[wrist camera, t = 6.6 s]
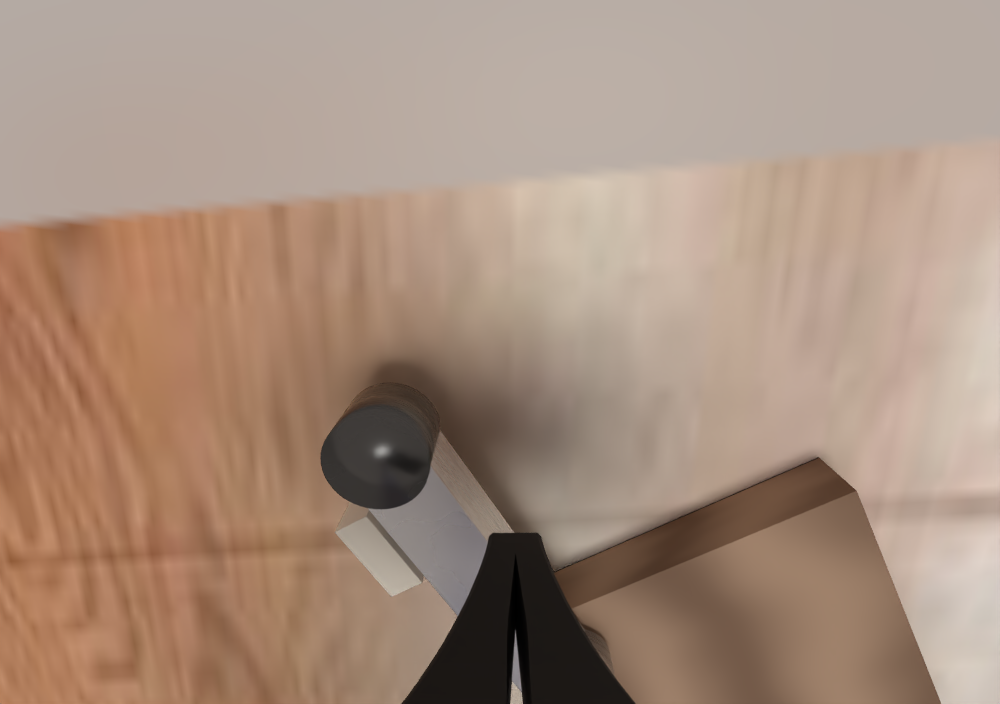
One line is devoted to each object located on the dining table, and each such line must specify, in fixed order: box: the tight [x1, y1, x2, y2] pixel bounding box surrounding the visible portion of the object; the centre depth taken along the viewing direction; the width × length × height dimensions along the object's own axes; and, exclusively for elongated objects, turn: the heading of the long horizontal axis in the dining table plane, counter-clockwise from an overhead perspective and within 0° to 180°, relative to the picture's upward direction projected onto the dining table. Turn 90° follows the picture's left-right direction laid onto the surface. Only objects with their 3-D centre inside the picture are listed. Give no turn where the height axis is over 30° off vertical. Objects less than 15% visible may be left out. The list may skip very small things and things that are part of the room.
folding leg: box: [321, 383, 615, 692], centre depth 15 cm, size 15×3×2 cm, turn 31°
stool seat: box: [554, 458, 941, 704], centre depth 20 cm, size 14×16×2 cm
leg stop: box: [335, 502, 424, 597], centre depth 16 cm, size 1×3×4 cm, turn 30°
